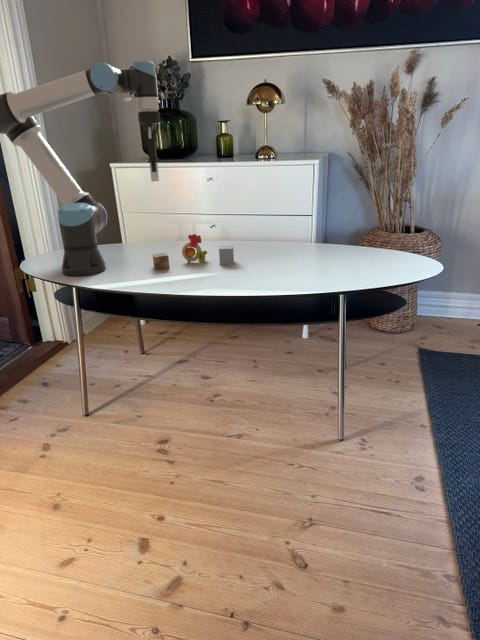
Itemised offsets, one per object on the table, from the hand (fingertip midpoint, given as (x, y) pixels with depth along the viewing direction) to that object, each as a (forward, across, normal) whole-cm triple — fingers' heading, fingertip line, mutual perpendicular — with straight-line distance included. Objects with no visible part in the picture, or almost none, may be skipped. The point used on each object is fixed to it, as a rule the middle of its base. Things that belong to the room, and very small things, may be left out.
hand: (155, 181), depth 176 cm
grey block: (+30, -12, -24) cm, 40 cm away
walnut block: (+30, -13, 0) cm, 32 cm away
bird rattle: (+30, -8, -12) cm, 33 cm away
